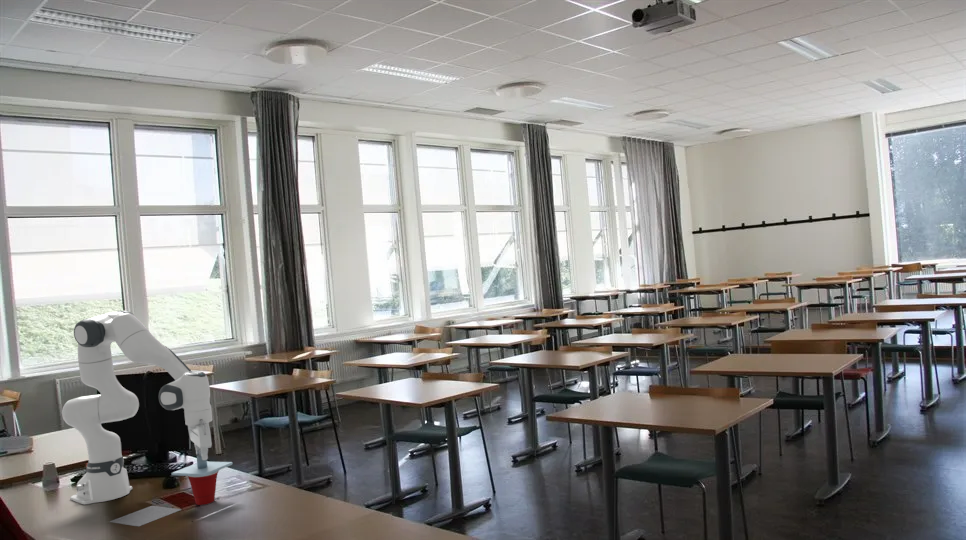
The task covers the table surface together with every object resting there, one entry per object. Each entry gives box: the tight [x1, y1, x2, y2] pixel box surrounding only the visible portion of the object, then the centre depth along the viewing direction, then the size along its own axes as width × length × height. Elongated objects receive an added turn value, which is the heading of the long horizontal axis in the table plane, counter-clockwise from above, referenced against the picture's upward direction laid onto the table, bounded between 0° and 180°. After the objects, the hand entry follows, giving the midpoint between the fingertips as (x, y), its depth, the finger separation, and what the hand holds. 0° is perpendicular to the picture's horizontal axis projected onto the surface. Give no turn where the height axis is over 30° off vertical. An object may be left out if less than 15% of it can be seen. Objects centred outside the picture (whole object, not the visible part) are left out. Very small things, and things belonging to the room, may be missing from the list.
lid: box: [171, 455, 233, 477], centre depth 240 cm, size 14×14×5 cm
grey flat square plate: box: [108, 505, 182, 528], centre depth 230 cm, size 16×16×1 cm
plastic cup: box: [187, 470, 220, 506], centre depth 240 cm, size 11×11×12 cm
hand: (202, 457), depth 240 cm, fingers open, 8 cm apart
